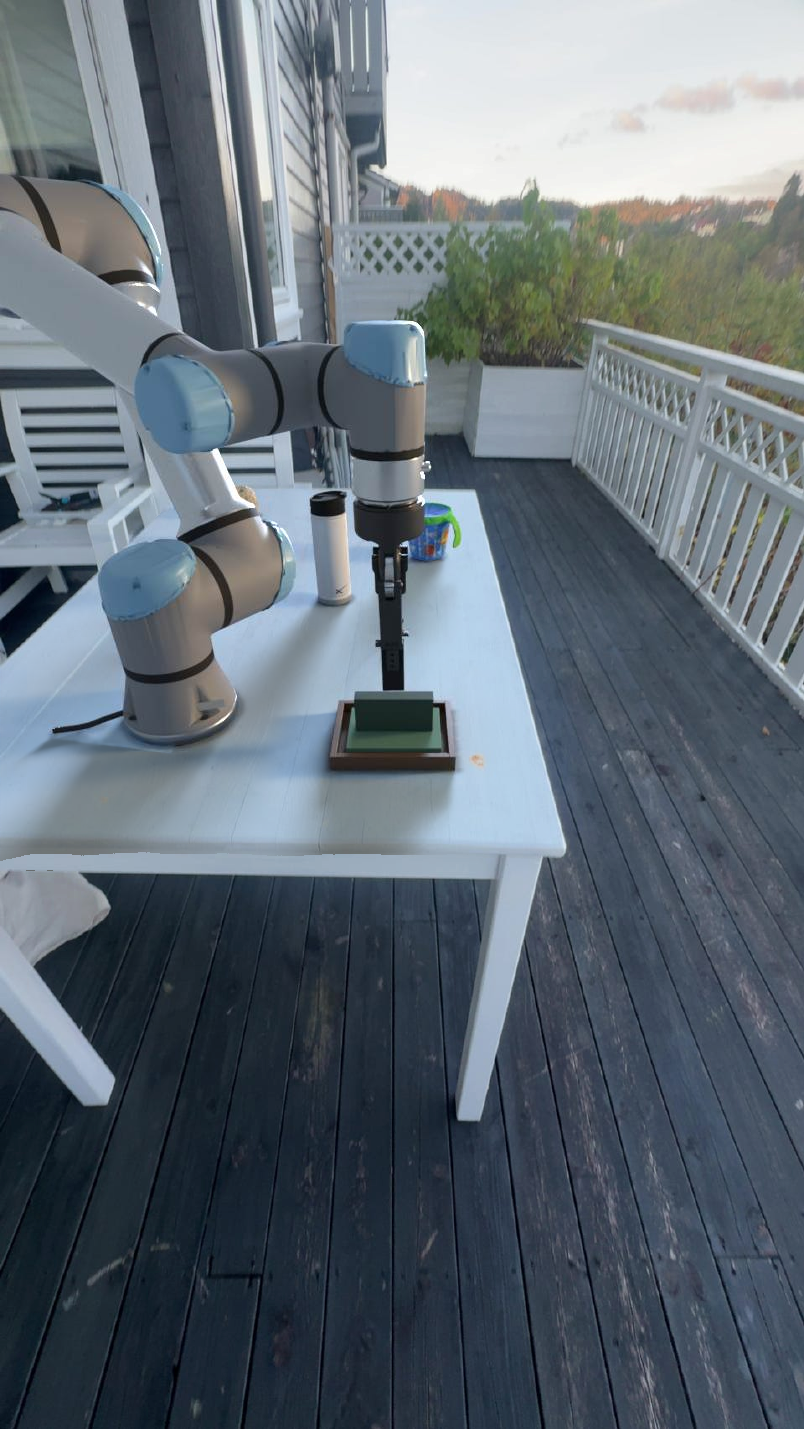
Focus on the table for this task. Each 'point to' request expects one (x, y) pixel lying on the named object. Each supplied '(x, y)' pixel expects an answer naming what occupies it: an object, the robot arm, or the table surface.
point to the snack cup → (435, 533)
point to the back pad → (394, 739)
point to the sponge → (247, 495)
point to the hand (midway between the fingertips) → (393, 687)
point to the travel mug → (331, 547)
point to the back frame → (392, 760)
